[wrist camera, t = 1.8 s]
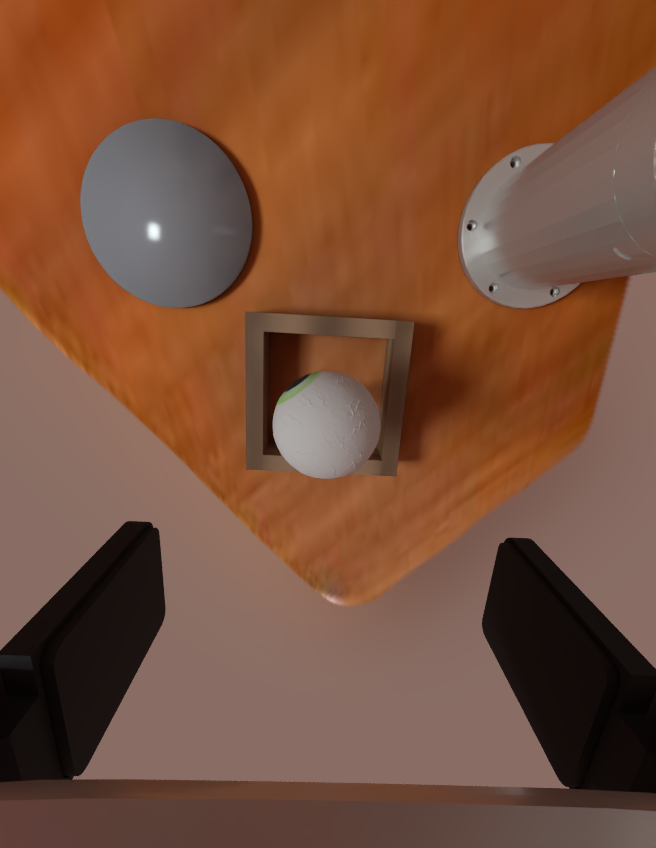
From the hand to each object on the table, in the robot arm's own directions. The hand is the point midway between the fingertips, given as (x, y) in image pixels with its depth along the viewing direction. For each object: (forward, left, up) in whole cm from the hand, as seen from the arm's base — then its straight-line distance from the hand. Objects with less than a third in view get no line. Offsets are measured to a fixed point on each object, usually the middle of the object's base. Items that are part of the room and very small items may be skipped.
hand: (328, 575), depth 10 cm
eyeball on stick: (0, 0, -26) cm, 26 cm away
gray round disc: (+14, -14, -26) cm, 33 cm away
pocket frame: (0, 0, -26) cm, 26 cm away
